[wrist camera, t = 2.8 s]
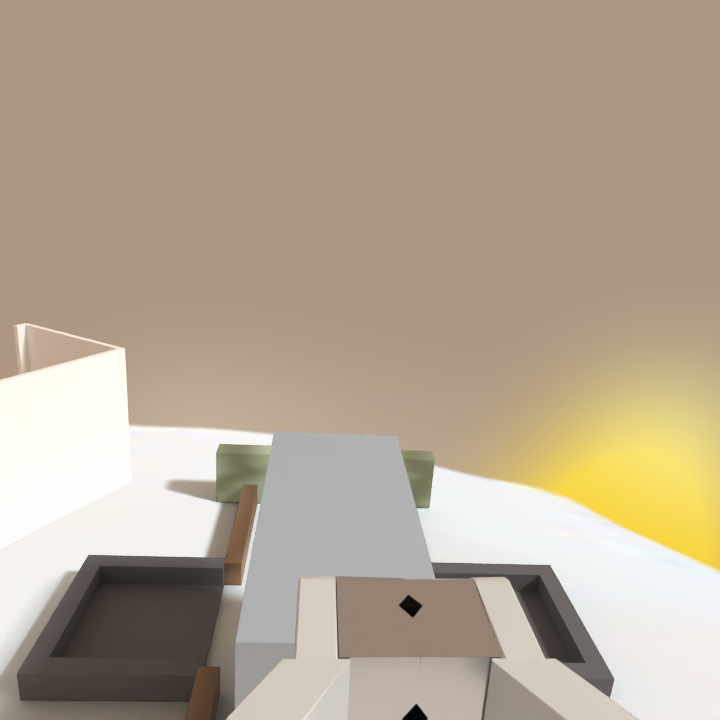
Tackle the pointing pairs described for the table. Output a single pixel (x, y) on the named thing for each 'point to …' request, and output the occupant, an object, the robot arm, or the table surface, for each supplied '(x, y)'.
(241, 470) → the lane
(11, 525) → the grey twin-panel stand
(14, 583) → the table surface
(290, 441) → the slate block
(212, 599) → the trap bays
